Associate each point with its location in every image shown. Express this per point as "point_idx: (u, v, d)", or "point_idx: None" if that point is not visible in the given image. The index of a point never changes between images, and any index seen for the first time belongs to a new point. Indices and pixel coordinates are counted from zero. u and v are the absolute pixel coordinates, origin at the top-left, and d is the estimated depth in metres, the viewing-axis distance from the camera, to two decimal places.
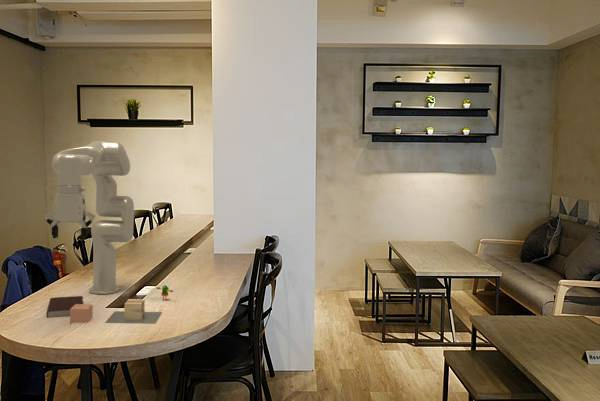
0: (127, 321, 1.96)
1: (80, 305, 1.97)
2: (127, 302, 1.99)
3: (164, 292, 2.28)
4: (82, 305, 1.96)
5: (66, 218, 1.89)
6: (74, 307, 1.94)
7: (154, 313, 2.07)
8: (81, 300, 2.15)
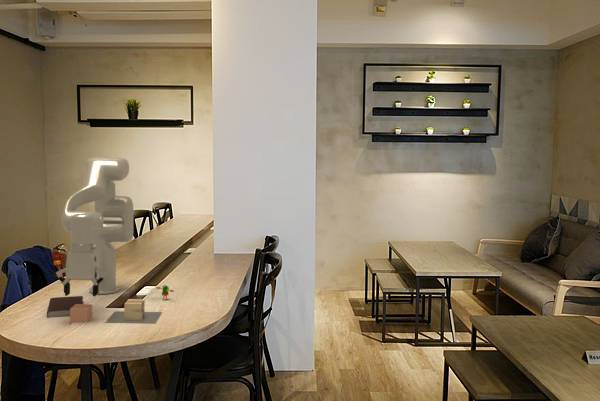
0: (127, 321, 1.96)
1: (80, 305, 1.97)
2: (127, 302, 1.99)
3: (164, 292, 2.28)
4: (82, 305, 1.96)
5: (78, 276, 1.92)
6: (74, 307, 1.94)
7: (154, 313, 2.07)
8: (81, 300, 2.15)
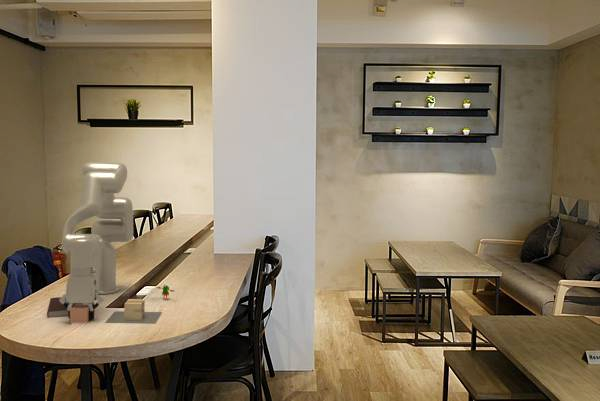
0: (127, 321, 1.96)
1: (80, 305, 1.97)
2: (127, 302, 1.99)
3: (165, 292, 2.28)
4: (82, 305, 1.96)
5: (78, 300, 1.93)
6: (74, 307, 1.94)
7: (154, 313, 2.07)
8: None
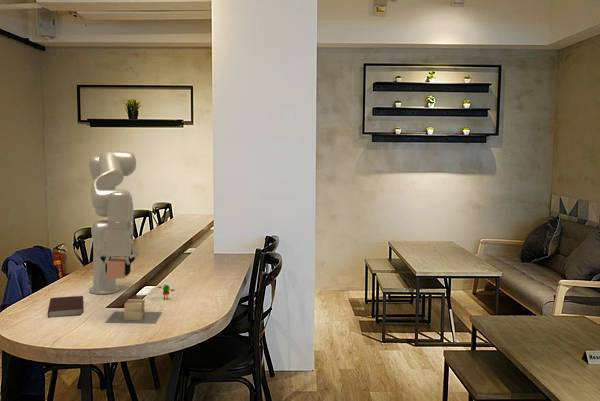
0: (127, 321, 1.96)
1: (116, 259, 1.99)
2: (127, 302, 1.99)
3: (165, 291, 2.29)
4: (119, 259, 1.98)
5: (115, 253, 1.95)
6: (111, 260, 1.96)
7: (154, 313, 2.07)
8: (81, 300, 2.15)
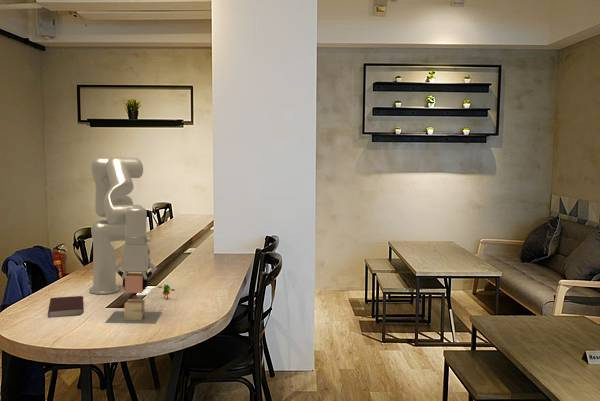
0: (127, 321, 1.96)
1: (133, 274, 2.01)
2: (127, 302, 1.99)
3: (165, 291, 2.29)
4: (136, 274, 2.01)
5: (133, 268, 1.97)
6: (128, 275, 1.98)
7: (154, 313, 2.07)
8: (82, 300, 2.15)
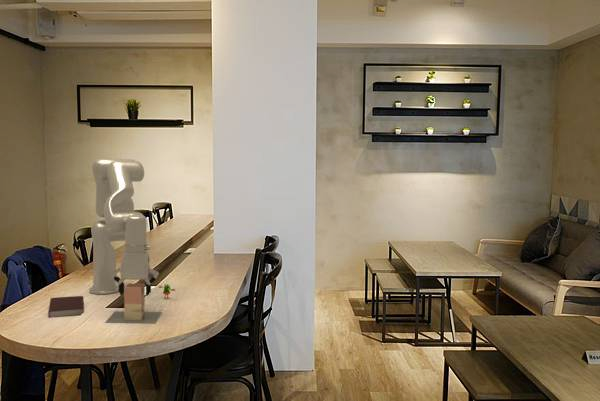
0: (127, 321, 1.96)
1: (133, 284, 2.02)
2: None
3: (166, 291, 2.30)
4: (135, 284, 2.01)
5: (132, 276, 1.98)
6: (128, 286, 1.99)
7: (154, 313, 2.07)
8: (82, 300, 2.15)
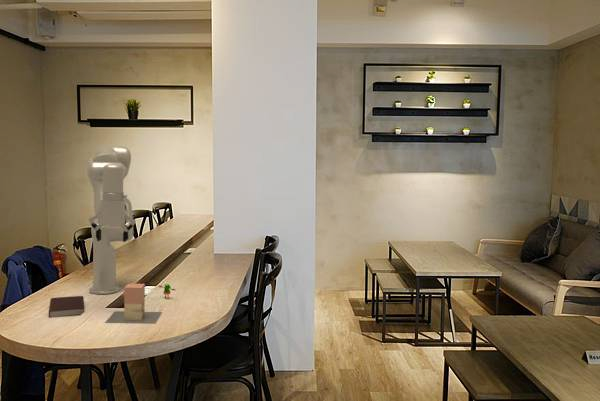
0: (127, 321, 1.96)
1: (133, 284, 2.02)
2: None
3: (166, 290, 2.30)
4: (135, 284, 2.01)
5: (109, 223, 2.05)
6: (128, 286, 1.99)
7: (154, 313, 2.07)
8: (82, 300, 2.15)
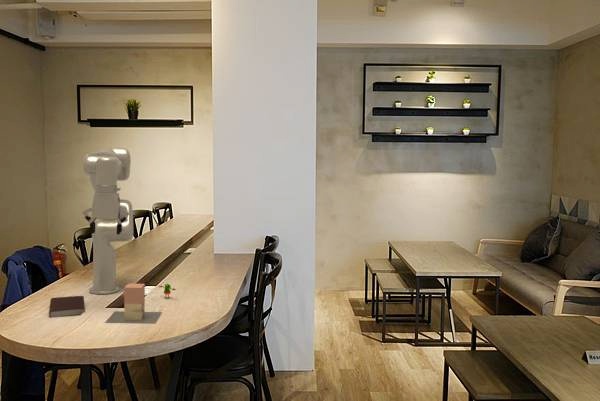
0: (127, 321, 1.96)
1: (133, 284, 2.02)
2: None
3: (166, 290, 2.31)
4: (135, 284, 2.01)
5: (103, 215, 2.07)
6: (128, 286, 1.99)
7: (154, 313, 2.07)
8: (82, 300, 2.15)
